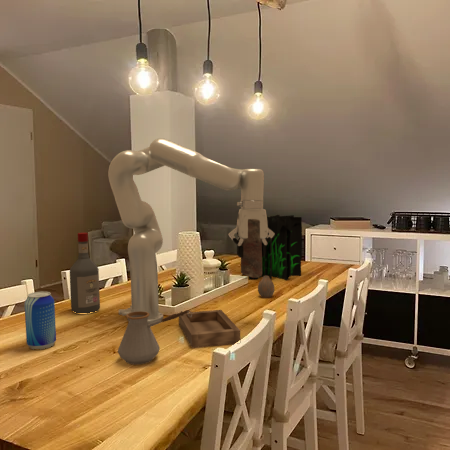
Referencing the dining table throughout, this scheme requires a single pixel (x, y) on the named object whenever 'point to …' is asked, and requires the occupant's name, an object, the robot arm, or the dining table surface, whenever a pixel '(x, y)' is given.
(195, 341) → the wooden tray
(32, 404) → the dining table surface
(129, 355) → the coffee pot
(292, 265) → the black pleated panel block
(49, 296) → the beer can
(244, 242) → the dark brown block
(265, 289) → the brown egg
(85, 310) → the liquor
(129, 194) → the robot arm
